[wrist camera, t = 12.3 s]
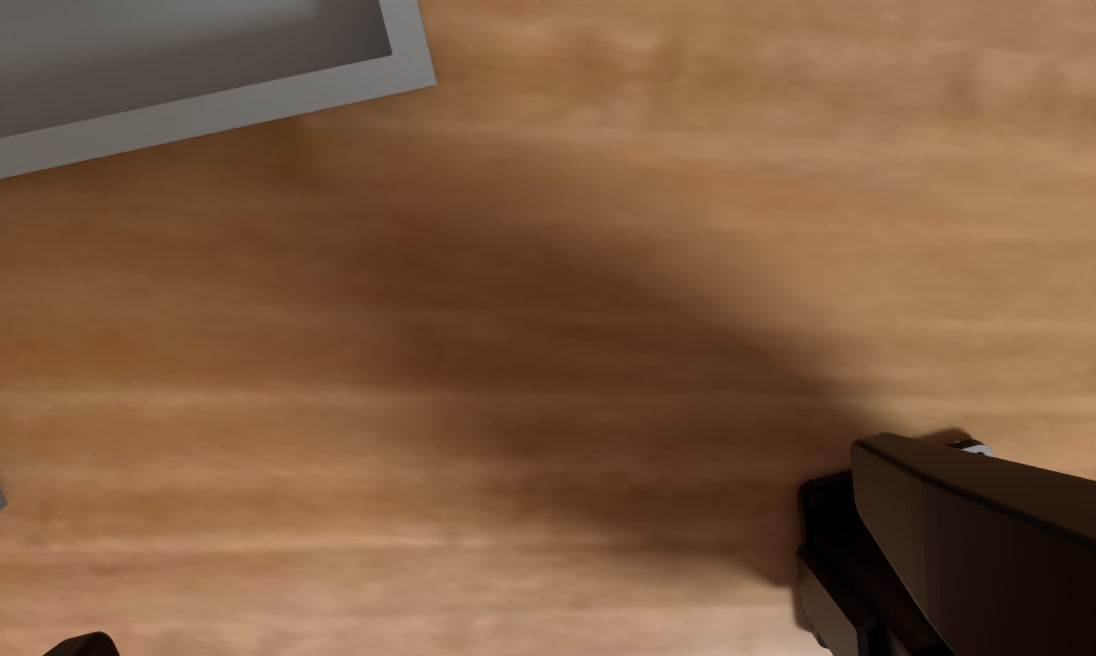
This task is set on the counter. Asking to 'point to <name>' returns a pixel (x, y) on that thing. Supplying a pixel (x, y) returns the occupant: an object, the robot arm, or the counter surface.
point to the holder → (2, 501)
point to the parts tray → (189, 69)
